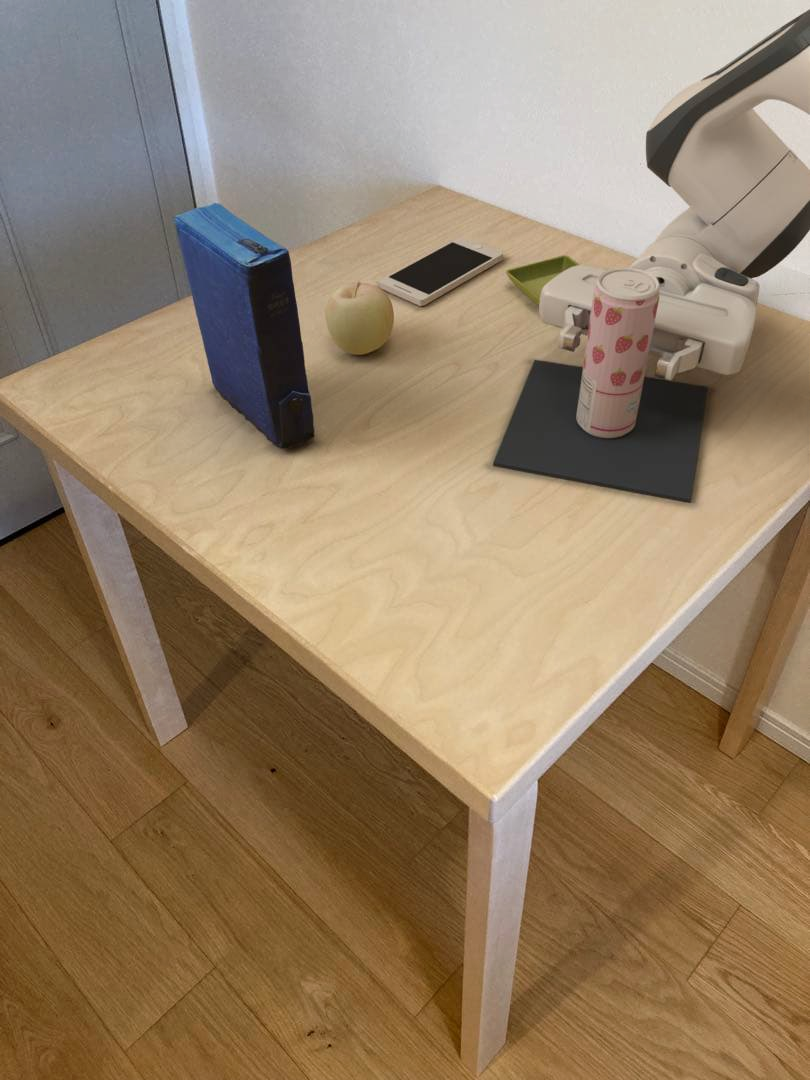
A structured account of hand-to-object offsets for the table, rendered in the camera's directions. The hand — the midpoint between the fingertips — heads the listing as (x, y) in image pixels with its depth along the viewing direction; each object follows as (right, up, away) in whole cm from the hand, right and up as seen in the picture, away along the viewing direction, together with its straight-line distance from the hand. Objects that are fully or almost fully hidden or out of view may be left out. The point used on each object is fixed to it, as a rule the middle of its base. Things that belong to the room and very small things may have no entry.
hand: (613, 357), depth 81 cm
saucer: (-1, +13, +25) cm, 28 cm away
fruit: (-24, +5, +18) cm, 30 cm away
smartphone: (-14, +16, +29) cm, 36 cm away
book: (-33, -4, +9) cm, 35 cm away
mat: (+1, -5, +6) cm, 8 cm away
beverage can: (+1, -5, +6) cm, 8 cm away
